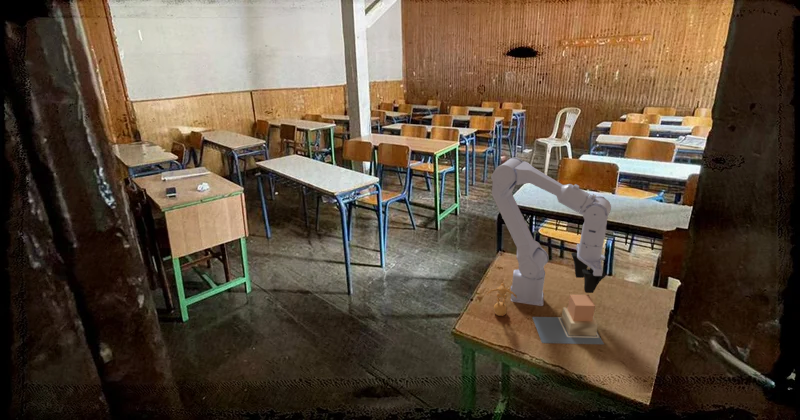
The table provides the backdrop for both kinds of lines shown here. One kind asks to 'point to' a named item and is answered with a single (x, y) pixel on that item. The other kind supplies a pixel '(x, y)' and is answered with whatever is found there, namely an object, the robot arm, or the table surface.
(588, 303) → the terracotta cube
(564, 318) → the maple base block
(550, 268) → the table surface
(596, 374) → the table surface
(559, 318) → the mat
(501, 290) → the figurine
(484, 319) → the table surface
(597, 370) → the table surface
